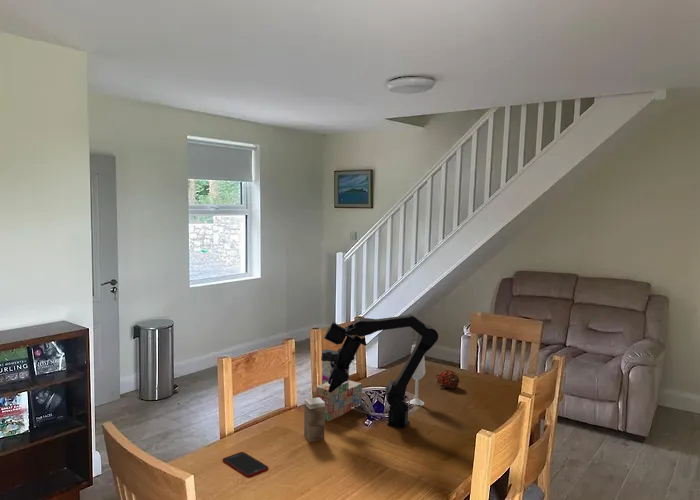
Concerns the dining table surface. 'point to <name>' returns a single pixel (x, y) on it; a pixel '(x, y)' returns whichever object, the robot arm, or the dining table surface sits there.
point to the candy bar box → (327, 371)
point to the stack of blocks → (340, 398)
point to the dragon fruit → (448, 379)
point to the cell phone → (245, 464)
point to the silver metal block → (314, 419)
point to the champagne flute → (417, 376)
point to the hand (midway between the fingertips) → (329, 387)
